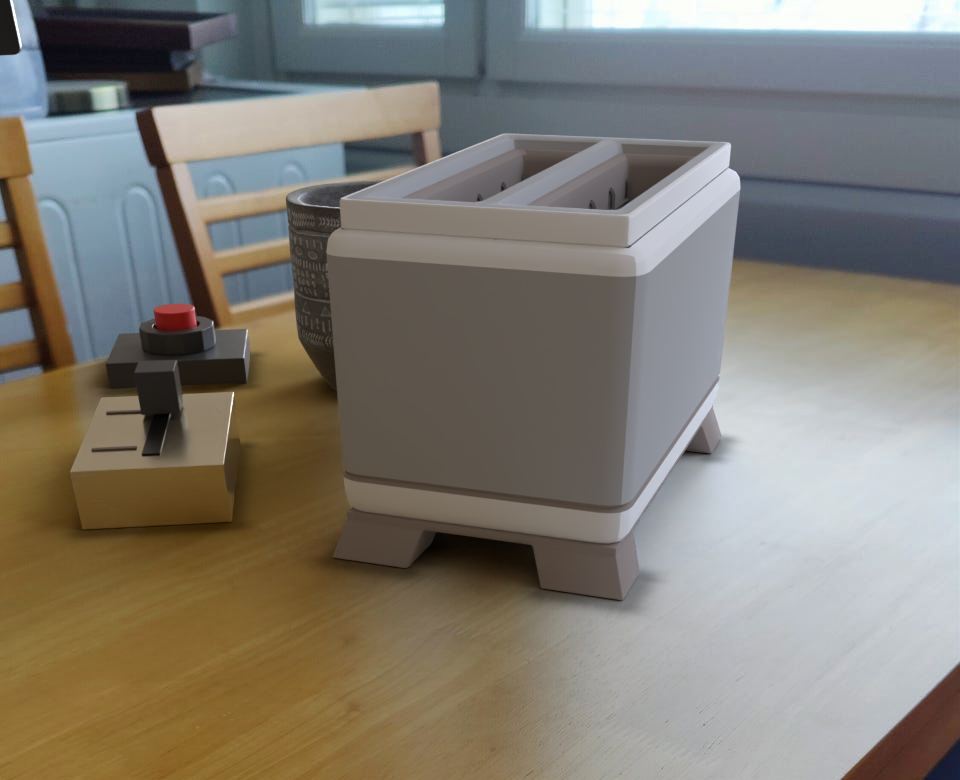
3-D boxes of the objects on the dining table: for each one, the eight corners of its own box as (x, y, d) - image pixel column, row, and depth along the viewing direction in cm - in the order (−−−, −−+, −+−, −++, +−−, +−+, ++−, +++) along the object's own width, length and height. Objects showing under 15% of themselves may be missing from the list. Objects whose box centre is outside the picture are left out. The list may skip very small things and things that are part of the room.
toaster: (729, 425, 98) (763, 134, 86) (623, 601, 72) (649, 223, 60) (504, 401, 103) (506, 124, 91) (332, 558, 78) (301, 202, 65)
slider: (141, 415, 88) (133, 372, 86) (145, 402, 90) (138, 360, 88) (180, 413, 88) (173, 371, 86) (183, 401, 90) (177, 359, 89)
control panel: (82, 529, 82) (69, 470, 79) (111, 449, 94) (100, 396, 92) (231, 522, 83) (223, 462, 80) (240, 443, 95) (233, 390, 93)
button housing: (110, 389, 107) (101, 342, 104) (123, 358, 115) (115, 313, 112) (247, 383, 108) (241, 336, 105) (250, 352, 116) (245, 308, 113)
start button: (154, 335, 108) (151, 314, 106) (158, 324, 110) (155, 304, 109) (195, 333, 108) (192, 312, 107) (198, 323, 111) (195, 302, 110)
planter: (432, 352, 115) (427, 175, 106) (483, 394, 105) (482, 201, 96) (286, 368, 112) (268, 185, 103) (324, 413, 101) (307, 214, 92)
